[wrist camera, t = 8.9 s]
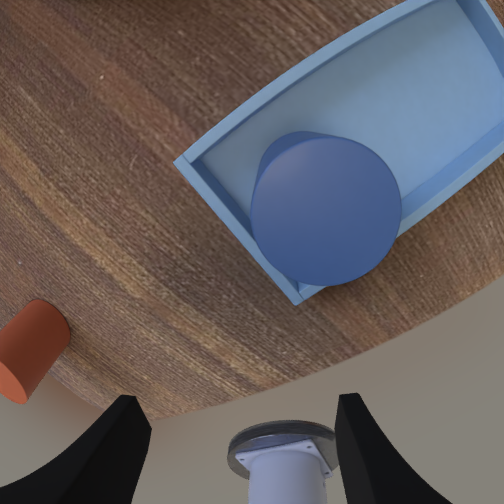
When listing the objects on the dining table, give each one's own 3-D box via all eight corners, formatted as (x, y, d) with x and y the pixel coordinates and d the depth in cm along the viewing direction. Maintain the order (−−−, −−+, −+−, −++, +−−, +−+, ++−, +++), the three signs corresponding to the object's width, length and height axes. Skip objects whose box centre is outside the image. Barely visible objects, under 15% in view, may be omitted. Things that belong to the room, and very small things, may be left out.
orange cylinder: (80, 341, 21) (37, 403, 15) (49, 351, 22) (9, 405, 16) (47, 292, 20) (-8, 347, 13) (19, 307, 21) (-30, 356, 14)
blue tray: (292, 283, 18) (295, 306, 16) (185, 156, 16) (171, 162, 13) (520, 112, 13) (545, 115, 11) (446, -14, 10) (466, -26, 8)
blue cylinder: (360, 202, 16) (415, 256, 9) (278, 233, 17) (284, 306, 10) (329, 118, 14) (375, 114, 8) (242, 152, 15) (223, 173, 9)
